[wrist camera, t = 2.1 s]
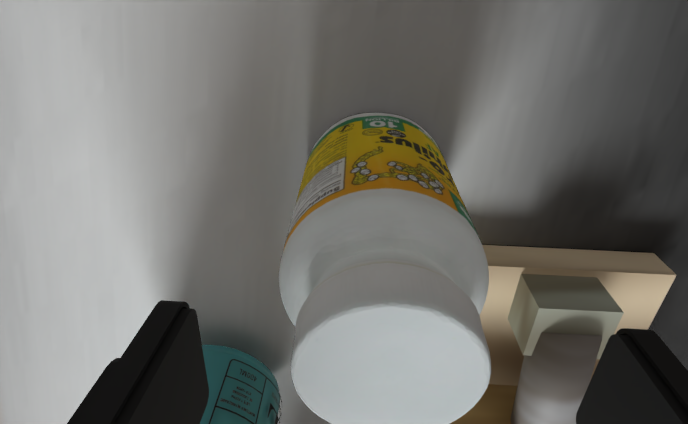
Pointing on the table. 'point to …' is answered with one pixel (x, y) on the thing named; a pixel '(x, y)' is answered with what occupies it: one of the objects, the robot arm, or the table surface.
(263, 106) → the table surface
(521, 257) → the coupler stand
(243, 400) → the beverage bottle
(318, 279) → the supplement bottle
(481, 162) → the table surface
